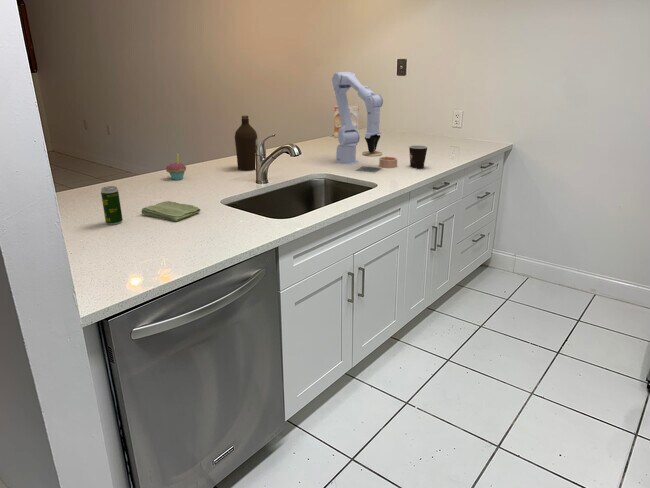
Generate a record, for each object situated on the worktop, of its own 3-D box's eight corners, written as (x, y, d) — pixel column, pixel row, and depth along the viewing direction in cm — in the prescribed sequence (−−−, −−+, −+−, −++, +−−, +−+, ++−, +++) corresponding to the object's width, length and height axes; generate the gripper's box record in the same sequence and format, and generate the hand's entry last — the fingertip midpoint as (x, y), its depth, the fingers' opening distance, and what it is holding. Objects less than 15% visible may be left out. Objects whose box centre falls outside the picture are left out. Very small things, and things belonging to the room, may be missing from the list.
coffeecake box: (334, 137, 330) (334, 106, 323) (335, 135, 336) (335, 105, 329) (357, 138, 327) (357, 106, 320) (358, 136, 334) (359, 105, 327)
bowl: (376, 167, 249) (377, 159, 247) (382, 164, 256) (382, 156, 255) (393, 169, 245) (394, 161, 244) (398, 165, 253) (399, 157, 251)
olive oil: (239, 171, 240) (235, 117, 231) (234, 167, 249) (231, 114, 240) (261, 170, 243) (258, 116, 234) (256, 165, 252) (253, 113, 243)
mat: (355, 171, 241) (355, 170, 241) (362, 167, 250) (362, 166, 250) (375, 173, 238) (375, 172, 237) (382, 169, 246) (382, 168, 246)
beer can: (117, 219, 175) (112, 185, 170) (126, 222, 172) (121, 187, 167) (102, 223, 171) (97, 188, 167) (111, 226, 168) (105, 191, 163)
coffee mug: (425, 169, 245) (427, 149, 241) (407, 168, 246) (408, 148, 243) (426, 164, 255) (427, 144, 252) (408, 163, 257) (410, 144, 253)
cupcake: (190, 177, 230) (188, 150, 226) (179, 181, 223) (177, 154, 218) (174, 175, 233) (171, 149, 228) (163, 180, 225) (160, 153, 221)
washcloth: (177, 224, 171) (176, 215, 170) (139, 216, 179) (138, 207, 178) (203, 213, 182) (202, 205, 181) (166, 206, 190) (165, 198, 189)
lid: (358, 155, 240) (359, 145, 238) (366, 152, 248) (366, 142, 246) (378, 157, 236) (378, 146, 234) (385, 153, 244) (385, 143, 242)
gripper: (375, 124, 229) (374, 154, 234) (386, 120, 241) (385, 149, 246) (361, 123, 232) (360, 153, 237) (372, 119, 244) (371, 148, 249)
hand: (372, 151), depth 241 cm, fingers closed on lid, 2 cm apart
